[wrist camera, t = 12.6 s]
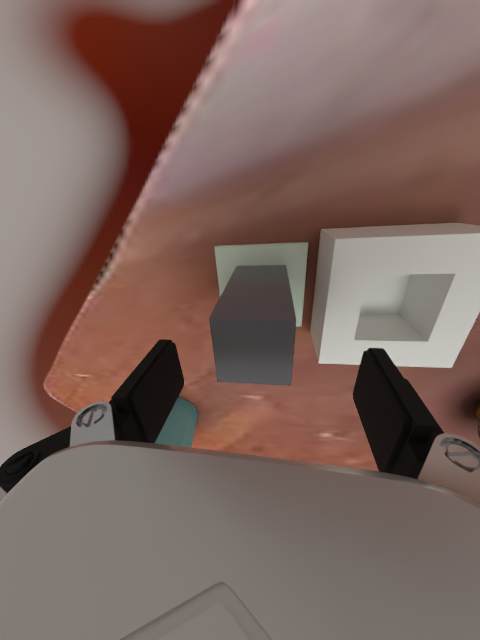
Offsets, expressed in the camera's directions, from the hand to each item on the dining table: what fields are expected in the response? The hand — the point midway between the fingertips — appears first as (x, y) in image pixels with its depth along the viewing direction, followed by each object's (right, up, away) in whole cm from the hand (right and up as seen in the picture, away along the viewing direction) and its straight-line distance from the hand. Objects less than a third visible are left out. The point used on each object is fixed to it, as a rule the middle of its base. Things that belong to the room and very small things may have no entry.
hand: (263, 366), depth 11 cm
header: (+11, +5, +9) cm, 15 cm away
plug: (+1, +5, +10) cm, 11 cm away
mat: (+1, +6, +10) cm, 12 cm away
